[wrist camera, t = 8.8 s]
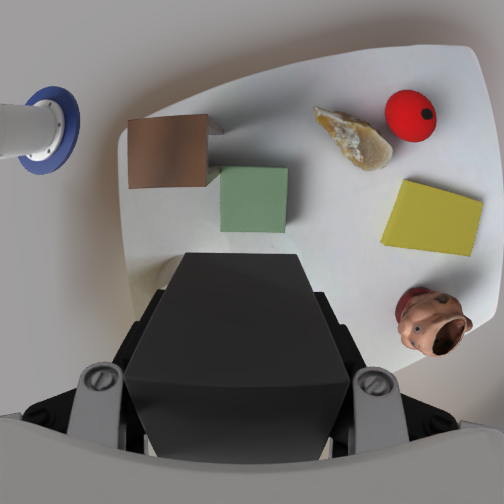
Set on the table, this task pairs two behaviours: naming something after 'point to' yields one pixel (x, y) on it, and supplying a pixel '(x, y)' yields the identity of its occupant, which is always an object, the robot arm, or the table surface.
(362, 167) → the stone
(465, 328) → the face mug
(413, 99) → the ornament
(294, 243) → the table surface
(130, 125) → the tall brown wooden block
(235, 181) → the sage green square slab
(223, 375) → the block
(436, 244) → the flat olive board
